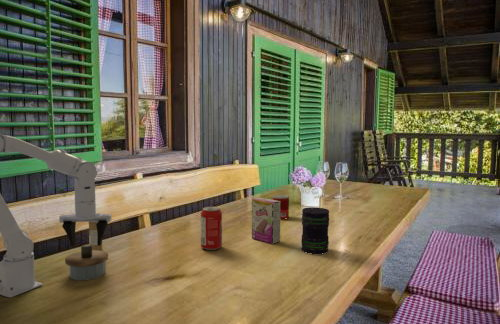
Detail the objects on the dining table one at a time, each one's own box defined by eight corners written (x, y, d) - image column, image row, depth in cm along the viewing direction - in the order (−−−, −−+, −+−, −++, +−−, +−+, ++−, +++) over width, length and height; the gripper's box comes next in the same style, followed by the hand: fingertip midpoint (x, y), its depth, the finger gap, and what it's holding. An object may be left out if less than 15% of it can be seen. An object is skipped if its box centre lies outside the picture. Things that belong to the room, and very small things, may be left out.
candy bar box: (251, 239, 158) (251, 198, 157) (259, 236, 162) (259, 197, 160) (272, 244, 150) (273, 202, 149) (280, 242, 154) (281, 200, 153)
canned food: (291, 217, 195) (291, 195, 194) (283, 220, 189) (284, 198, 188) (277, 215, 199) (277, 194, 198) (269, 218, 193) (270, 196, 192)
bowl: (86, 282, 114) (85, 267, 113) (62, 276, 118) (61, 261, 118) (112, 271, 123) (111, 257, 122) (89, 265, 127) (88, 252, 127)
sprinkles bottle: (91, 250, 143) (90, 213, 142) (104, 249, 143) (103, 213, 142) (87, 254, 138) (86, 216, 137) (101, 254, 139) (99, 216, 138)
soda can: (197, 249, 144) (196, 209, 143) (206, 243, 151) (206, 205, 150) (216, 252, 141) (216, 211, 140) (225, 246, 149) (225, 206, 147)
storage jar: (312, 244, 151) (312, 206, 150) (333, 250, 144) (334, 210, 143) (295, 250, 144) (296, 210, 143) (317, 256, 137) (318, 214, 136)
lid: (88, 271, 112) (87, 254, 112) (56, 266, 116) (55, 249, 116) (116, 258, 123) (115, 242, 123) (85, 253, 127) (85, 238, 127)
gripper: (54, 203, 113) (56, 249, 115) (107, 202, 115) (108, 248, 116) (63, 199, 120) (64, 242, 122) (112, 198, 122) (113, 241, 123)
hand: (86, 245), depth 120 cm, fingers open, 7 cm apart
